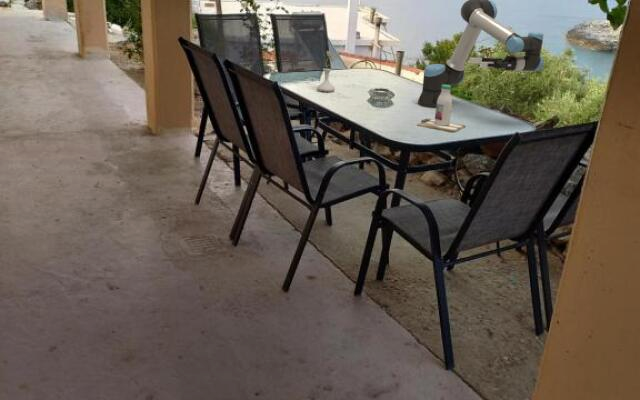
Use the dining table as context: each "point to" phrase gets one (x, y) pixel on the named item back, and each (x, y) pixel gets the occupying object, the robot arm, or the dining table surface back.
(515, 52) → the robot arm
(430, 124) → the clipboard
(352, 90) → the dining table surface
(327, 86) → the flower in vase
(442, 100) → the milk bottle
